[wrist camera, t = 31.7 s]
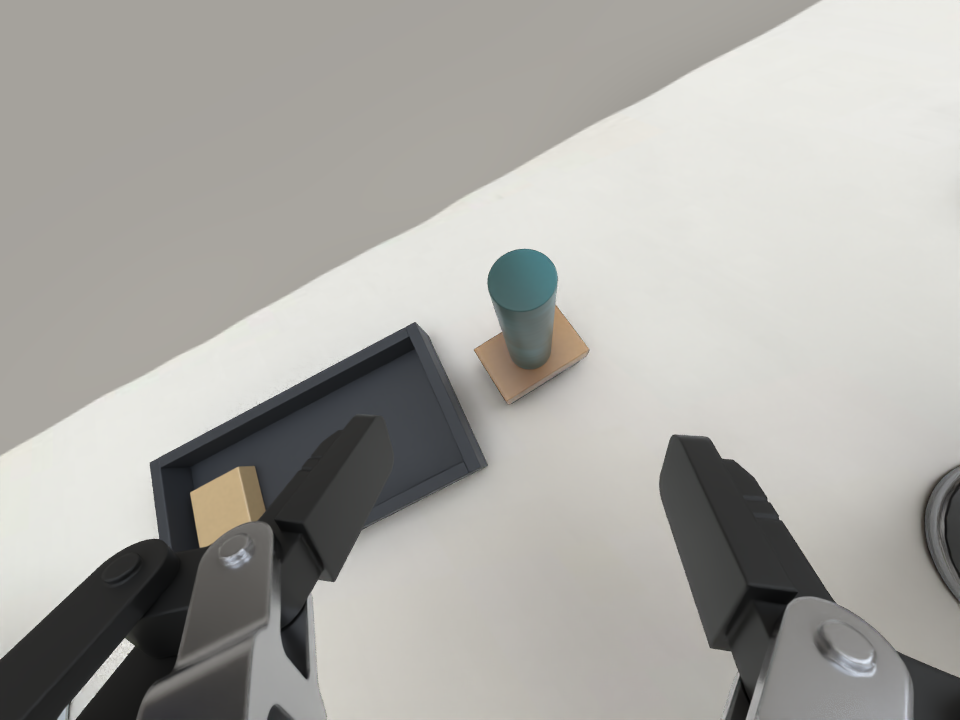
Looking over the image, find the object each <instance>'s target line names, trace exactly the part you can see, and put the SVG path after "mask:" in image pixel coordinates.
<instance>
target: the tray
mask: <svg viewBox="0 0 960 720" xmlns="http://www.w3.org/2000/svg"><path fill="white" fill-rule="evenodd" d="M356 414H365V415H380V416H382V417H383V418H384V419H385V422H386V426H387V430H388V433H389V437H390V441H391V444H392V448H393V452H394V463H393V468H392V471H391V473H390V475H389V477H388V479H387V481H386V483H385V485H384V487H383V489H382V491H381V493H380V495H379V497H378V499H377V501H376V503H375V504H374V506H373V508H372V510H371V512H370V514H369V516H368V518H367V520H366V522H365V524H364V526H363V528H362V529H364V528H366V527H368V526H370V525H372V524H374V523H376V522H378V521H380V520H382V519H384V518H386V517H388V516H390V515H392V514H394V513H396V512H398V511H400V510H402V509H403V508H405V507H407V506H409V505H411V504H413V503H415V502H417V501H419V500H421V499H423V498H425V497H427V496H429V495H431V494H433V493H435V492H437V491H439V490H441V489H443V488H445V487H447V486H449V485H451V484H453V483H455V482H457V481H459V480H461V479H463V478H465V477H467V476H469V475H471V474H473V473H474V472H476V471H478V470H480V469H482V468H484V467H486V466H488V464H487V462H486V460H485V458H484V455H483V453H482V451H481V449H480V447H479V445H478V442H477V440H476V438H475V436H474V434H473V431H472V429H471V427H470V425H469V423H468V421H467V418H466V416H465V414H464V412H463V410H462V408H461V405H460V403H459V401H458V399H457V397H456V395H455V392H454V390H453V388H452V386H451V384H450V382H449V379H448V377H447V375H446V373H445V371H444V369H443V366H442V364H441V362H440V360H439V358H438V356H437V353H436V351H435V349H434V347H433V345H432V343H431V340H430V338H429V336H428V335H427V334H426V333H425V332H424V331H423V330H422V329H421V327H420V326H419V325H418V324H417V323H416V322H414V323H412V324H410V325H409V326H407V327H406V328H403V329H401V330H399V331H397V332H395V333H393V334H392V335H390V336H388V337H386V338H384V339H382V340H380V341H378V342H376V343H375V344H373V345H371V346H369V347H367V348H365V349H363V350H361V351H359V352H358V353H356V354H354V355H352V356H350V357H348V358H346V359H344V360H342V361H341V362H339V363H337V364H335V365H333V366H331V367H329V368H327V369H325V370H324V371H322V372H320V373H318V374H316V375H314V376H312V377H310V378H308V379H307V380H305V381H303V382H301V383H299V384H297V385H295V386H293V387H291V388H290V389H288V390H286V391H284V392H282V393H280V394H278V395H276V396H274V397H273V398H271V399H269V400H267V401H265V402H263V403H261V404H259V405H257V406H256V407H254V408H252V409H250V410H248V411H246V412H244V413H242V414H240V415H239V416H237V417H235V418H233V419H231V420H229V421H227V422H225V423H223V424H222V425H220V426H218V427H216V428H214V429H212V430H210V431H208V432H206V433H205V434H203V435H201V436H199V437H197V438H195V439H193V440H191V441H189V442H188V443H186V444H184V445H182V446H180V447H178V448H176V449H174V450H172V451H171V452H169V453H167V454H165V455H163V456H161V457H159V458H158V459H156V460H154V461H152V462H150V470H151V478H152V486H153V493H154V501H155V509H156V516H157V524H158V532H159V539H160V540H163V541H164V542H165V543H166V544H167V545H168V546H169V547H170V548H171V549H172V551H173V552H174V553H175V552H180V551H186V550H191V549H196V548H200V547H199V542H198V536H197V530H196V525H195V519H194V513H193V507H192V502H191V496H190V492H192V491H194V490H196V489H197V488H199V487H201V486H203V485H205V484H207V483H209V482H210V481H212V480H214V479H216V478H218V477H220V476H222V475H223V474H225V473H227V472H229V471H231V470H233V469H235V468H236V467H241V466H255V469H256V473H257V477H258V481H259V485H260V489H261V493H262V497H263V501H264V505H265V509H266V510H267V509H268V507H269V506H270V505H271V504H272V503H273V501H274V500H275V499H276V498H277V496H278V495H279V494H280V493H281V492H282V490H283V489H284V488H285V487H286V485H287V484H288V483H289V482H290V480H291V479H292V478H293V477H294V476H295V474H296V473H297V472H298V471H299V470H301V467H302V466H303V465H304V463H305V462H306V461H307V460H308V458H309V459H310V458H311V455H312V454H313V452H314V451H315V450H316V449H317V447H318V446H319V445H320V444H321V443H322V441H324V440H325V439H327V438H328V437H329V436H331V435H332V434H333V433H335V432H336V431H338V430H343V429H344V428H345V426H346V425H347V424H348V423H349V421H350V420H351V419H352V418H353V416H355V415H356Z"/></svg>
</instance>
